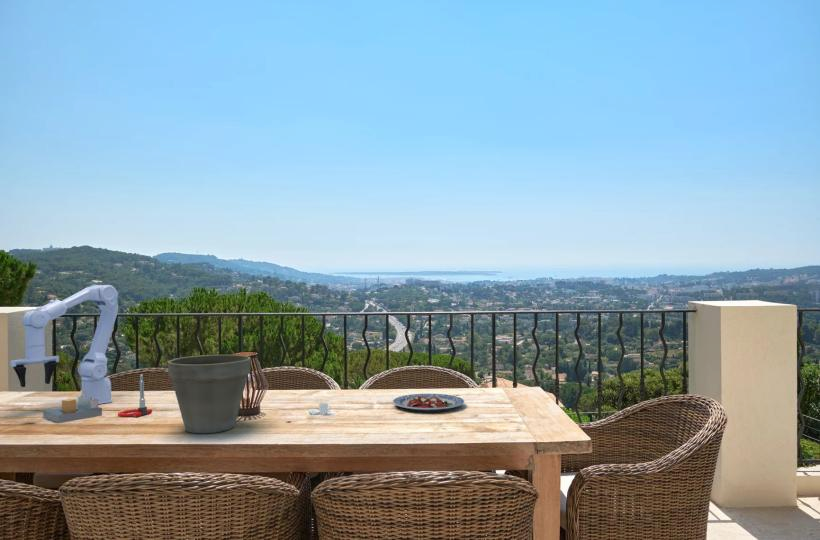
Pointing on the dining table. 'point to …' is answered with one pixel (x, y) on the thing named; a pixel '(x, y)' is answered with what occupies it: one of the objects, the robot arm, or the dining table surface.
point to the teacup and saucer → (321, 410)
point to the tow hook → (142, 409)
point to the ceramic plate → (428, 402)
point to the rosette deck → (83, 410)
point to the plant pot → (209, 390)
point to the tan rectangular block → (68, 405)
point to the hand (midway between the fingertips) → (35, 385)
